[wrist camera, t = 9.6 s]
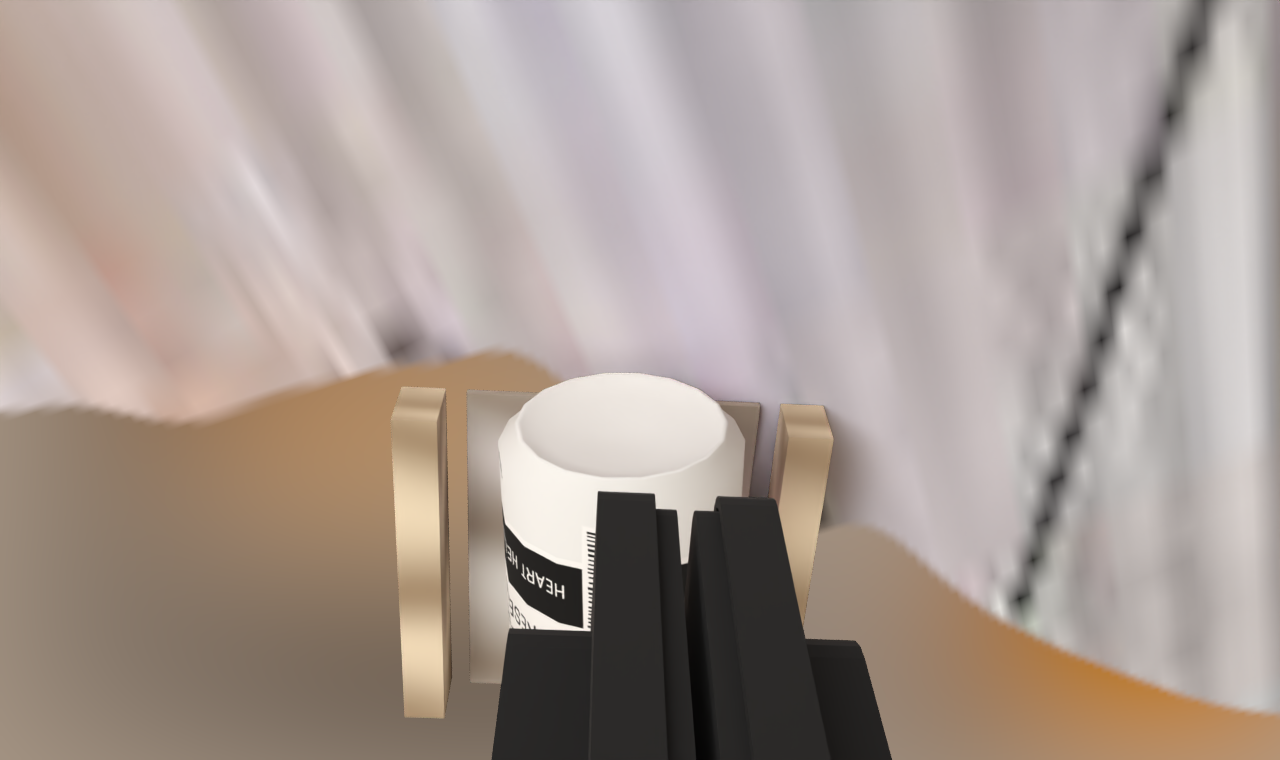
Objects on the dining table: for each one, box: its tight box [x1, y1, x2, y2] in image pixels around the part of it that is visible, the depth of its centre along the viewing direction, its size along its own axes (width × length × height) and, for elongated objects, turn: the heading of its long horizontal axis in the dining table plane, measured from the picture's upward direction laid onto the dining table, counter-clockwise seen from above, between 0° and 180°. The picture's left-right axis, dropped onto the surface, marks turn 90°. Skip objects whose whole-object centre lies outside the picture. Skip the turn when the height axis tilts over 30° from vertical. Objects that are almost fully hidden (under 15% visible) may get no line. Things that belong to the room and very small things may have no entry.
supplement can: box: [498, 373, 745, 631], centre depth 42 cm, size 8×8×15 cm
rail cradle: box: [391, 387, 834, 718], centre depth 45 cm, size 14×16×2 cm
